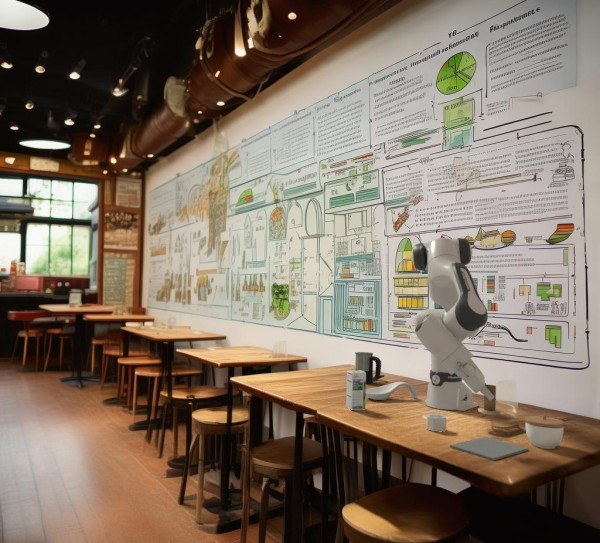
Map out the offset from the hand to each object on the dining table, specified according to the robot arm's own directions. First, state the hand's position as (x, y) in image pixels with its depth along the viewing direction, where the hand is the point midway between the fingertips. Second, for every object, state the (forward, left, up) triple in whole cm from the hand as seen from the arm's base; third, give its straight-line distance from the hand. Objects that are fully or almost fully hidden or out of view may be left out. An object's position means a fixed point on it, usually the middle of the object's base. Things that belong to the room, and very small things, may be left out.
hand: (492, 397), depth 152 cm
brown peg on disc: (0, -1, -4) cm, 4 cm away
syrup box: (-2, -59, -15) cm, 60 cm away
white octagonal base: (-4, -23, -15) cm, 27 cm away
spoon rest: (-30, -66, -15) cm, 74 cm away
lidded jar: (-18, +6, -15) cm, 24 cm away
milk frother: (-53, -102, -15) cm, 116 cm away
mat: (0, -1, -15) cm, 15 cm away
